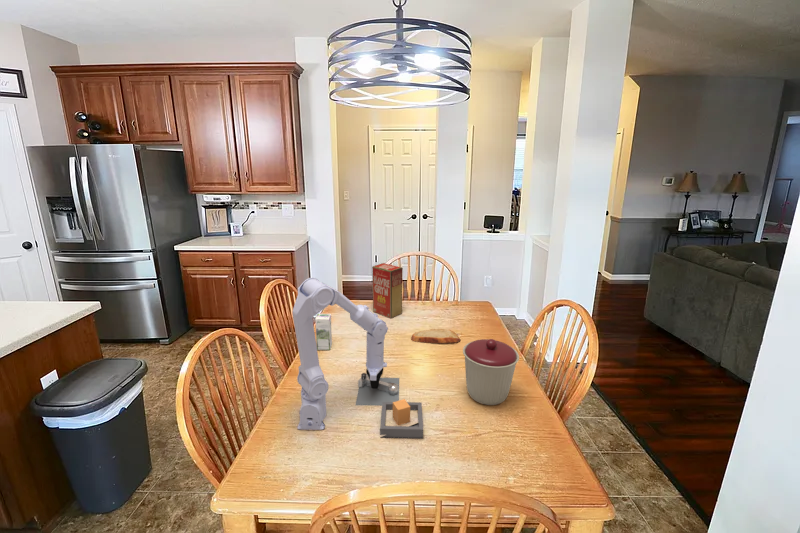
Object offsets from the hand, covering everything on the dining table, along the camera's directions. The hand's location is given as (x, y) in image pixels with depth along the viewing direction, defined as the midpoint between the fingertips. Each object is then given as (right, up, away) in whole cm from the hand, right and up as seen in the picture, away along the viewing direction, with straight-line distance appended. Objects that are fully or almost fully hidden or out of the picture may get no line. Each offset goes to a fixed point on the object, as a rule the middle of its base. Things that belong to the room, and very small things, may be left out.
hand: (374, 387), depth 130 cm
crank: (+1, -1, +1) cm, 2 cm away
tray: (+9, -7, -14) cm, 18 cm away
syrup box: (-23, +7, +31) cm, 40 cm away
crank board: (+1, -2, +1) cm, 3 cm away
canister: (+38, -3, 0) cm, 38 cm away
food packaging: (+2, +17, +68) cm, 70 cm away
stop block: (+9, -6, -14) cm, 17 cm away
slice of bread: (+25, +8, +40) cm, 48 cm away
